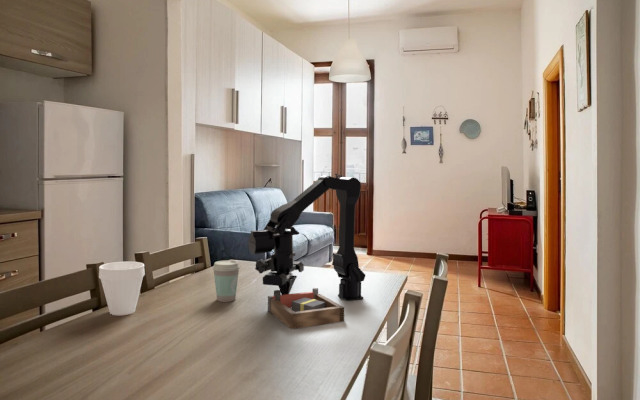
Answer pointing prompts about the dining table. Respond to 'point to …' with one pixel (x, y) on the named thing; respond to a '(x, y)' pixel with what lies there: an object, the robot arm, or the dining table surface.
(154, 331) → the dining table surface
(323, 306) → the grey taped parcel
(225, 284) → the coffee cup
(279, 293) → the gate
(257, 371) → the dining table surface
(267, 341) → the dining table surface
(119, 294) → the cup
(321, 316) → the tan frame
